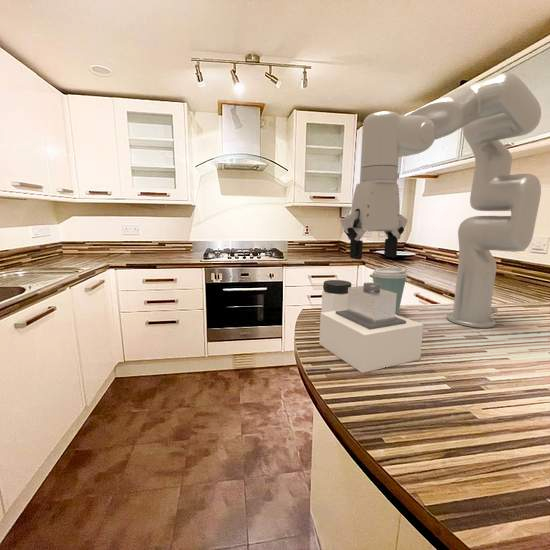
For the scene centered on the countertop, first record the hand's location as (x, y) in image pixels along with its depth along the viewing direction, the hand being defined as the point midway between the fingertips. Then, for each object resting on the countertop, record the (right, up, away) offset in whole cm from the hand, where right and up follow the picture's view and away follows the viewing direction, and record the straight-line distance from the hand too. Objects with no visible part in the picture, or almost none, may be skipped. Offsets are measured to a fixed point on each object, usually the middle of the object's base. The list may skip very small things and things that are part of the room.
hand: (373, 257), depth 69 cm
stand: (0, -22, +4) cm, 22 cm away
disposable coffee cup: (+15, -17, +33) cm, 40 cm away
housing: (0, -13, +2) cm, 13 cm away
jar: (-3, -18, +25) cm, 31 cm away
